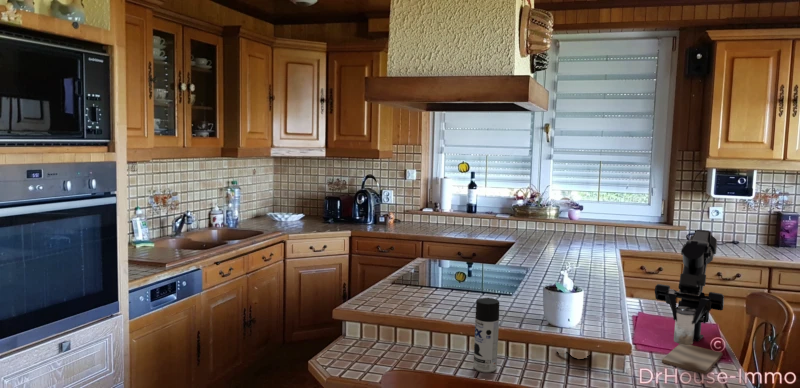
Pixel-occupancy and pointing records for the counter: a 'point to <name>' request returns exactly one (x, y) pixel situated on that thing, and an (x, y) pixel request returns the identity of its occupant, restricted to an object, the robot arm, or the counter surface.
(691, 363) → the tan wooden panel
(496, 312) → the spray can
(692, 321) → the metal tin
